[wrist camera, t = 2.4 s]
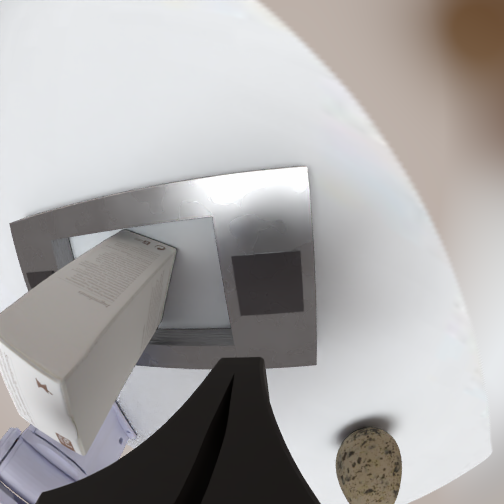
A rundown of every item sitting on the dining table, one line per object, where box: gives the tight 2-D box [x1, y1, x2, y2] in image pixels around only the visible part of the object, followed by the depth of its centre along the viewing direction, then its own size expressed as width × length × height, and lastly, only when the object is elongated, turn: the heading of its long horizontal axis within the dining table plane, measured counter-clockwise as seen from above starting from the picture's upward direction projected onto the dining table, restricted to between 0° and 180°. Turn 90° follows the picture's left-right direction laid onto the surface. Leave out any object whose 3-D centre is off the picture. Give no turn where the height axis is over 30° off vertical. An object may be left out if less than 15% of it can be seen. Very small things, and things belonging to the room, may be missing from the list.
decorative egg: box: [336, 427, 402, 504], centre depth 17 cm, size 6×6×10 cm
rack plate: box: [9, 166, 317, 369], centre depth 17 cm, size 12×22×2 cm, turn 97°
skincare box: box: [0, 230, 176, 456], centre depth 13 cm, size 6×4×12 cm
